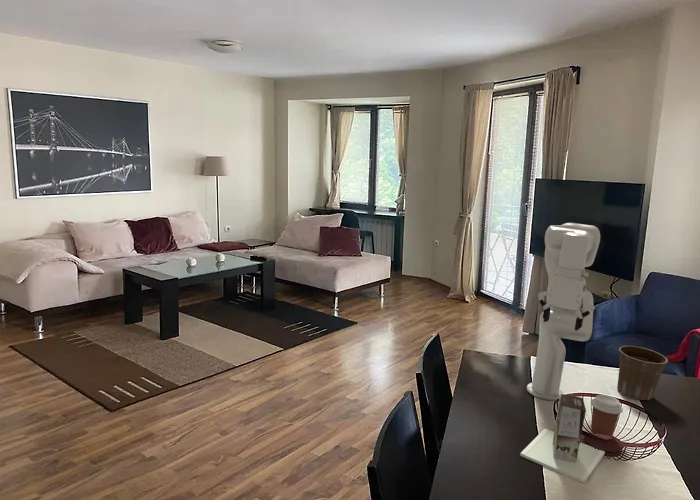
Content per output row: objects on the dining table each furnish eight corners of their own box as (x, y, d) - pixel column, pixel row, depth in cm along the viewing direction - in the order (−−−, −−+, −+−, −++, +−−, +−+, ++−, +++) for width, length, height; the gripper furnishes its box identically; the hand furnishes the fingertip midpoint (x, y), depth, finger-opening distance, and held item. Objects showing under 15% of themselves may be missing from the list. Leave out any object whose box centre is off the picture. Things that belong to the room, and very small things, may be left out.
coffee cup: (618, 445, 168) (625, 409, 166) (586, 437, 171) (593, 402, 169) (615, 431, 177) (622, 397, 174) (585, 424, 180) (591, 390, 177)
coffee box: (576, 463, 155) (586, 410, 152) (552, 457, 157) (561, 405, 154) (574, 447, 163) (583, 397, 160) (551, 441, 165) (560, 392, 162)
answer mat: (544, 430, 173) (545, 428, 173) (604, 454, 162) (605, 451, 162) (520, 455, 158) (520, 452, 158) (584, 483, 147) (585, 480, 147)
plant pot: (667, 399, 205) (676, 358, 201) (645, 408, 195) (654, 365, 192) (625, 381, 218) (633, 343, 214) (603, 389, 208) (610, 349, 205)
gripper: (603, 277, 167) (593, 330, 170) (546, 265, 177) (538, 315, 180) (596, 280, 161) (586, 335, 164) (538, 268, 171) (530, 320, 175)
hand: (561, 325), depth 172 cm, fingers open, 9 cm apart
